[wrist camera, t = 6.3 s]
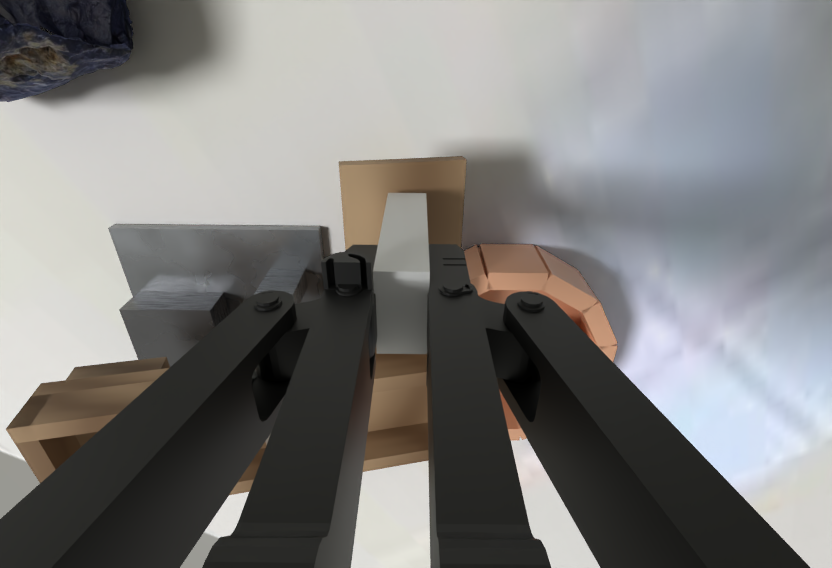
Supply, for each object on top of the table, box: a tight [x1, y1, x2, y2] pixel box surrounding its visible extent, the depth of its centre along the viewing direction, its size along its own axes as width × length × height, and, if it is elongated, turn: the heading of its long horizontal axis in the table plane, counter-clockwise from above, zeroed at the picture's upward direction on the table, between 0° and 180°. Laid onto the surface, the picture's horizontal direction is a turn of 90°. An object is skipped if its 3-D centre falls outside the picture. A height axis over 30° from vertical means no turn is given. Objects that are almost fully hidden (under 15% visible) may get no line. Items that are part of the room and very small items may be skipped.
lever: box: [6, 156, 466, 495], centre depth 20 cm, size 18×15×4 cm
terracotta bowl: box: [464, 244, 618, 440], centre depth 26 cm, size 12×12×4 cm
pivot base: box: [108, 224, 324, 367], centre depth 25 cm, size 12×14×8 cm
